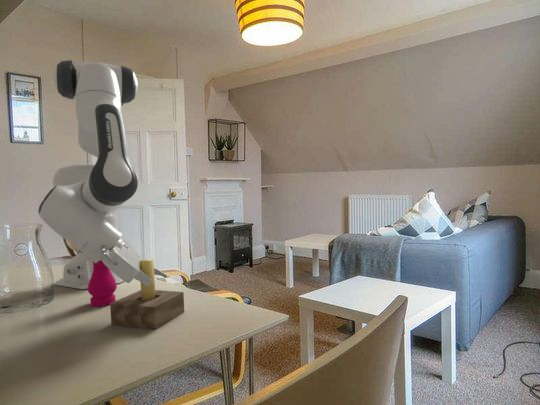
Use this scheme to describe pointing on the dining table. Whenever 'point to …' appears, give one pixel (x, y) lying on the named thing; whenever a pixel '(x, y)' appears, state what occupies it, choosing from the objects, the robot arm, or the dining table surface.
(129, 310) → the socket block
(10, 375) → the dining table surface
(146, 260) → the dowel
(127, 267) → the robot arm
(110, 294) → the pepper mill
